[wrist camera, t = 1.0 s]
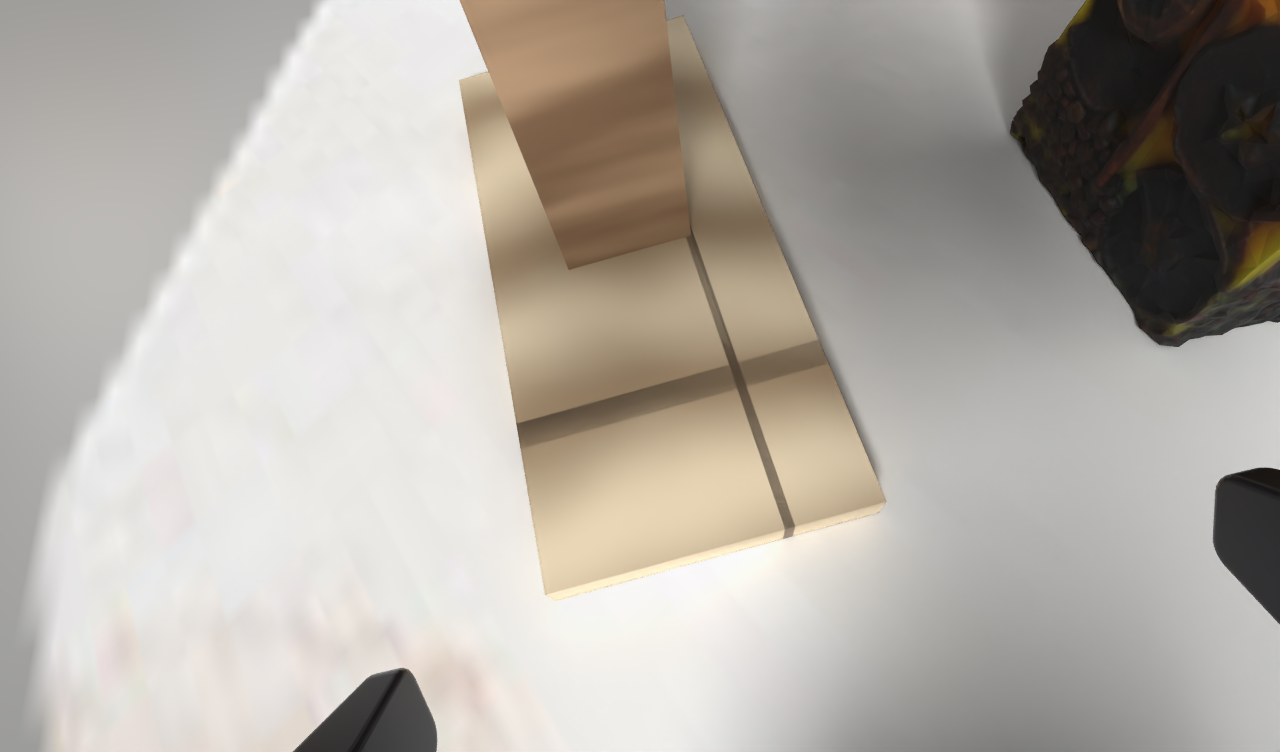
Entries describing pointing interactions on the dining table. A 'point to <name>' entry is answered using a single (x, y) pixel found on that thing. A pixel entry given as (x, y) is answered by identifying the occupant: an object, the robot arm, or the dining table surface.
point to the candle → (1168, 155)
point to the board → (662, 367)
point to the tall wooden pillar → (591, 117)
